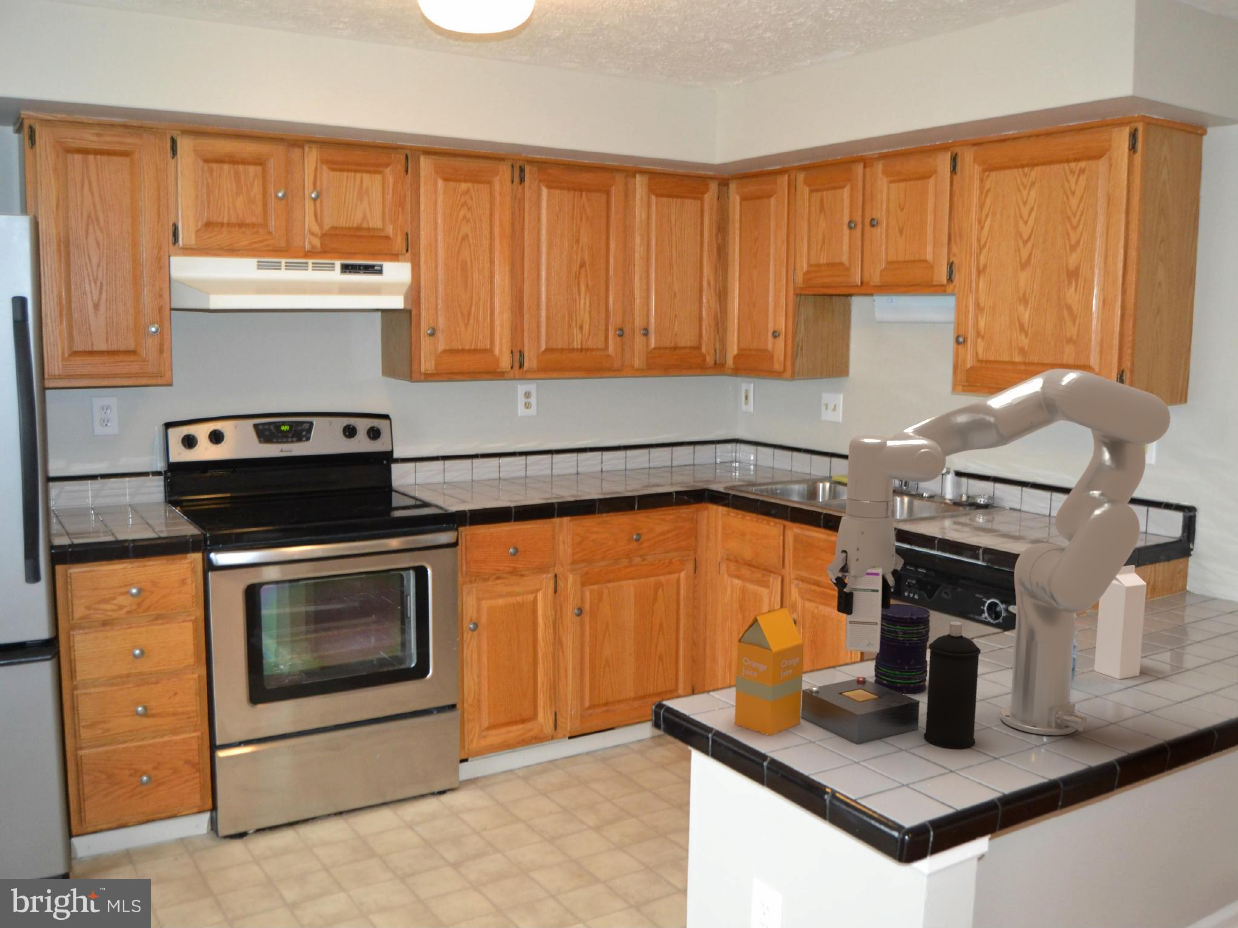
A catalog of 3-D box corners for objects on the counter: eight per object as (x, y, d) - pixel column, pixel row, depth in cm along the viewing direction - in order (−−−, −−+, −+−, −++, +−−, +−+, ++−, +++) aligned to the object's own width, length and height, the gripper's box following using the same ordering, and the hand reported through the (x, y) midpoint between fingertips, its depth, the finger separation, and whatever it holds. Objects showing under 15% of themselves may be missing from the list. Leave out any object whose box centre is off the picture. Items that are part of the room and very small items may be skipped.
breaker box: (918, 729, 185) (919, 697, 184) (857, 744, 178) (858, 711, 177) (860, 704, 197) (861, 674, 196) (801, 717, 190) (802, 686, 189)
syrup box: (880, 653, 182) (884, 569, 180) (844, 650, 183) (848, 566, 182) (878, 644, 188) (883, 562, 186) (844, 641, 189) (848, 559, 187)
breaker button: (877, 713, 186) (878, 696, 186) (858, 717, 184) (859, 700, 184) (859, 705, 190) (860, 689, 190) (841, 709, 188) (841, 693, 187)
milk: (1093, 671, 219) (1100, 564, 216) (1114, 667, 222) (1121, 561, 219) (1119, 680, 214) (1126, 570, 211) (1140, 675, 216) (1148, 567, 214)
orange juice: (801, 723, 187) (805, 610, 184) (770, 736, 181) (774, 619, 178) (764, 711, 192) (768, 601, 190) (733, 723, 186) (737, 610, 184)
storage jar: (863, 680, 211) (867, 605, 209) (907, 676, 214) (911, 602, 212) (891, 697, 201) (895, 618, 199) (937, 692, 204) (941, 615, 202)
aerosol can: (968, 753, 175) (975, 632, 172) (917, 742, 179) (923, 624, 177) (980, 737, 182) (987, 621, 179) (931, 727, 186) (937, 614, 184)
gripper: (890, 502, 190) (884, 599, 192) (814, 509, 181) (809, 611, 184) (922, 509, 184) (916, 609, 186) (845, 516, 175) (840, 621, 177)
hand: (863, 609), depth 185 cm, fingers closed on syrup box, 8 cm apart
